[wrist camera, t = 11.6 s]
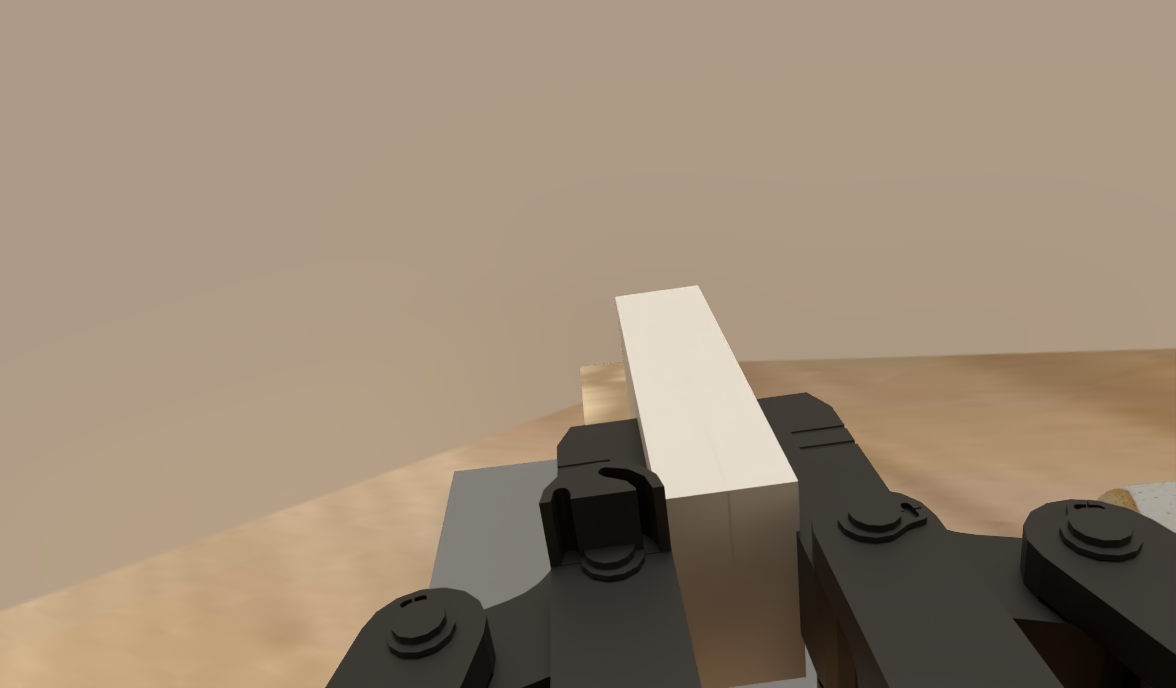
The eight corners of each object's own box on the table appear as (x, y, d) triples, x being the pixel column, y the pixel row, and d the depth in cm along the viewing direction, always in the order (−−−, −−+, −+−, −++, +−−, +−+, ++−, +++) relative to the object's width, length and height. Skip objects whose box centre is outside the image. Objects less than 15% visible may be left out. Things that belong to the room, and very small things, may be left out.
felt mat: (820, 443, 45) (820, 427, 45) (1043, 801, 25) (1046, 777, 24) (457, 487, 45) (454, 471, 45) (379, 879, 25) (372, 857, 24)
